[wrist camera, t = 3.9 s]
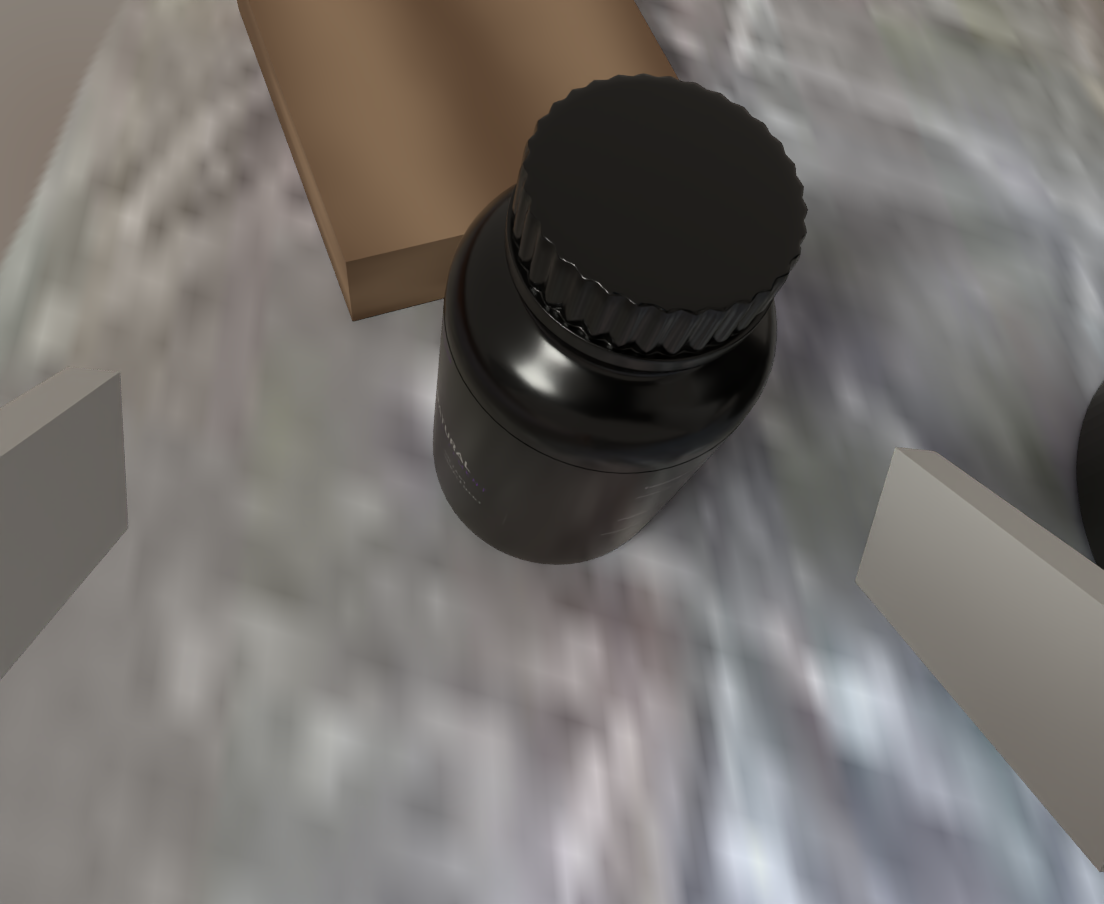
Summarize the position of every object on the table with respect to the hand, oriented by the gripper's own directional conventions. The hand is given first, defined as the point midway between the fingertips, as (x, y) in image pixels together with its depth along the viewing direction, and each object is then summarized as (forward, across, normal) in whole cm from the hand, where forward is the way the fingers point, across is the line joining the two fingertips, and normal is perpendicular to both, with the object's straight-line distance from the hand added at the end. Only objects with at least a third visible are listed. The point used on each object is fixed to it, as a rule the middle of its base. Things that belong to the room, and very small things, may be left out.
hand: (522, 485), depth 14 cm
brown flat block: (+18, -2, +6) cm, 19 cm away
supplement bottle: (+9, +2, -3) cm, 10 cm away
